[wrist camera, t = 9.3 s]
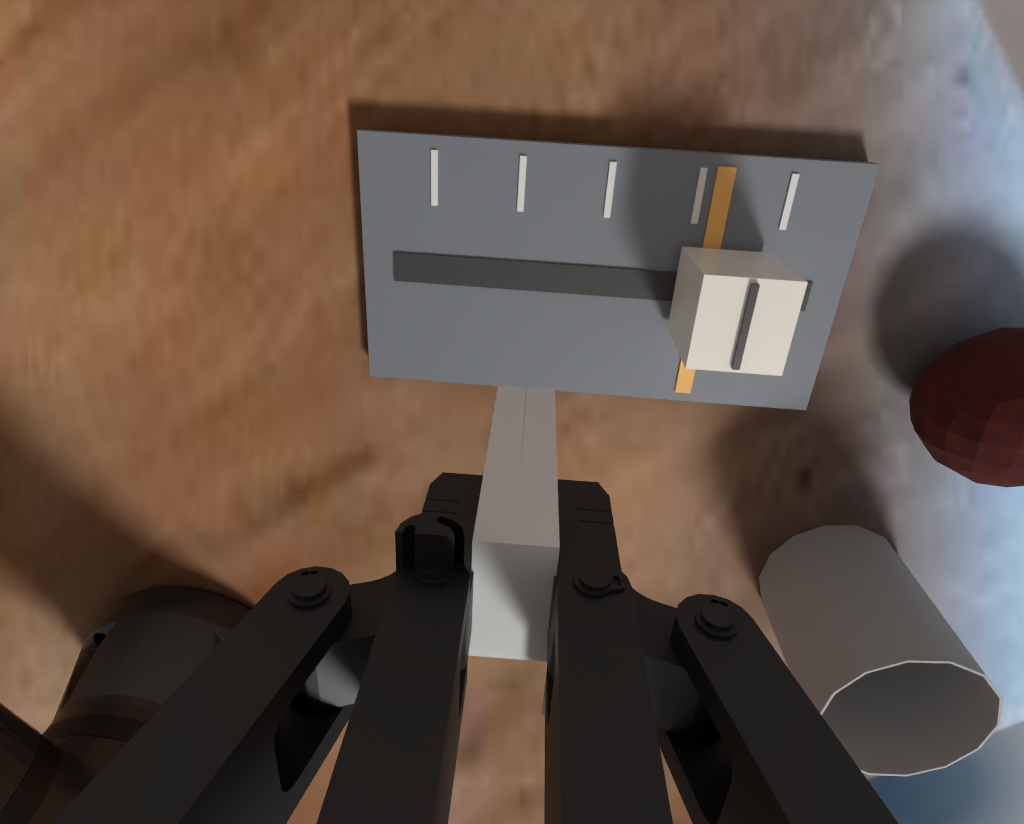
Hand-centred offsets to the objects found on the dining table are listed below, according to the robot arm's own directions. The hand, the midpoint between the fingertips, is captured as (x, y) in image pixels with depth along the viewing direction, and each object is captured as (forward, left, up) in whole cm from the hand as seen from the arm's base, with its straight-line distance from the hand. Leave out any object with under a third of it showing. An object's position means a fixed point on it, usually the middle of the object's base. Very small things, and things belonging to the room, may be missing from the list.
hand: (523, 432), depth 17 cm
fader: (+9, 0, -15) cm, 17 cm away
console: (+3, 0, -16) cm, 17 cm away
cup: (+19, -18, -17) cm, 31 cm away
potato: (+22, -4, -17) cm, 28 cm away
